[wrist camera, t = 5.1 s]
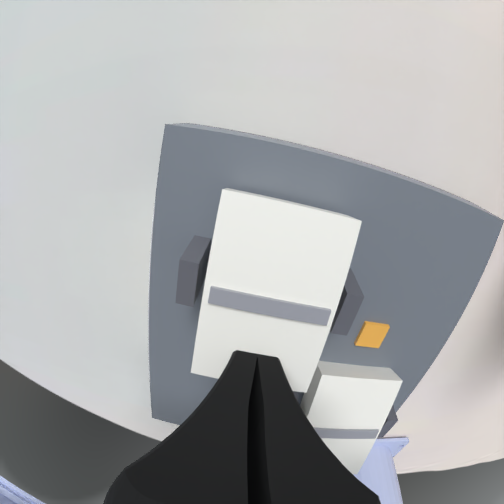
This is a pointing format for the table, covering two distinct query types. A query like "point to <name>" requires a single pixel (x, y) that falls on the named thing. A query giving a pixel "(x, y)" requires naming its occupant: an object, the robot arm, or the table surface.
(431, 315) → the console
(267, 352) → the rocker
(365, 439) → the rocker
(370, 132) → the table surface
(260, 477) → the robot arm
